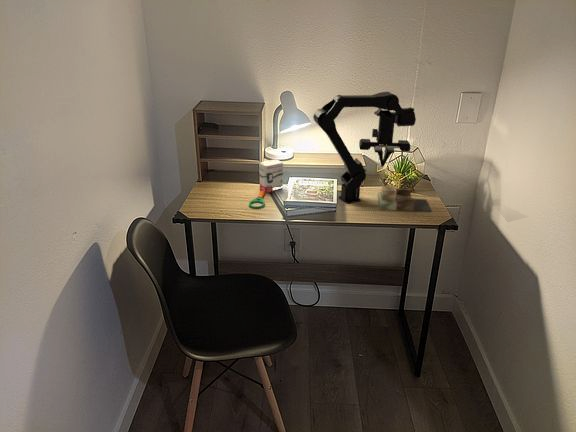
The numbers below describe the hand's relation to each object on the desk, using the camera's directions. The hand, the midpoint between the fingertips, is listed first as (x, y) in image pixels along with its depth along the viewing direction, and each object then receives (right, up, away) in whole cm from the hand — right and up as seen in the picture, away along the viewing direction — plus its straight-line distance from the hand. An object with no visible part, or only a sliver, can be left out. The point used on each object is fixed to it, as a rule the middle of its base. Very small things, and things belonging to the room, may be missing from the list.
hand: (382, 166), depth 191 cm
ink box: (-43, -8, +12) cm, 46 cm away
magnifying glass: (-48, -14, +1) cm, 50 cm away
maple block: (+2, -12, -1) cm, 13 cm away
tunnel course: (+8, -15, -1) cm, 17 cm away
